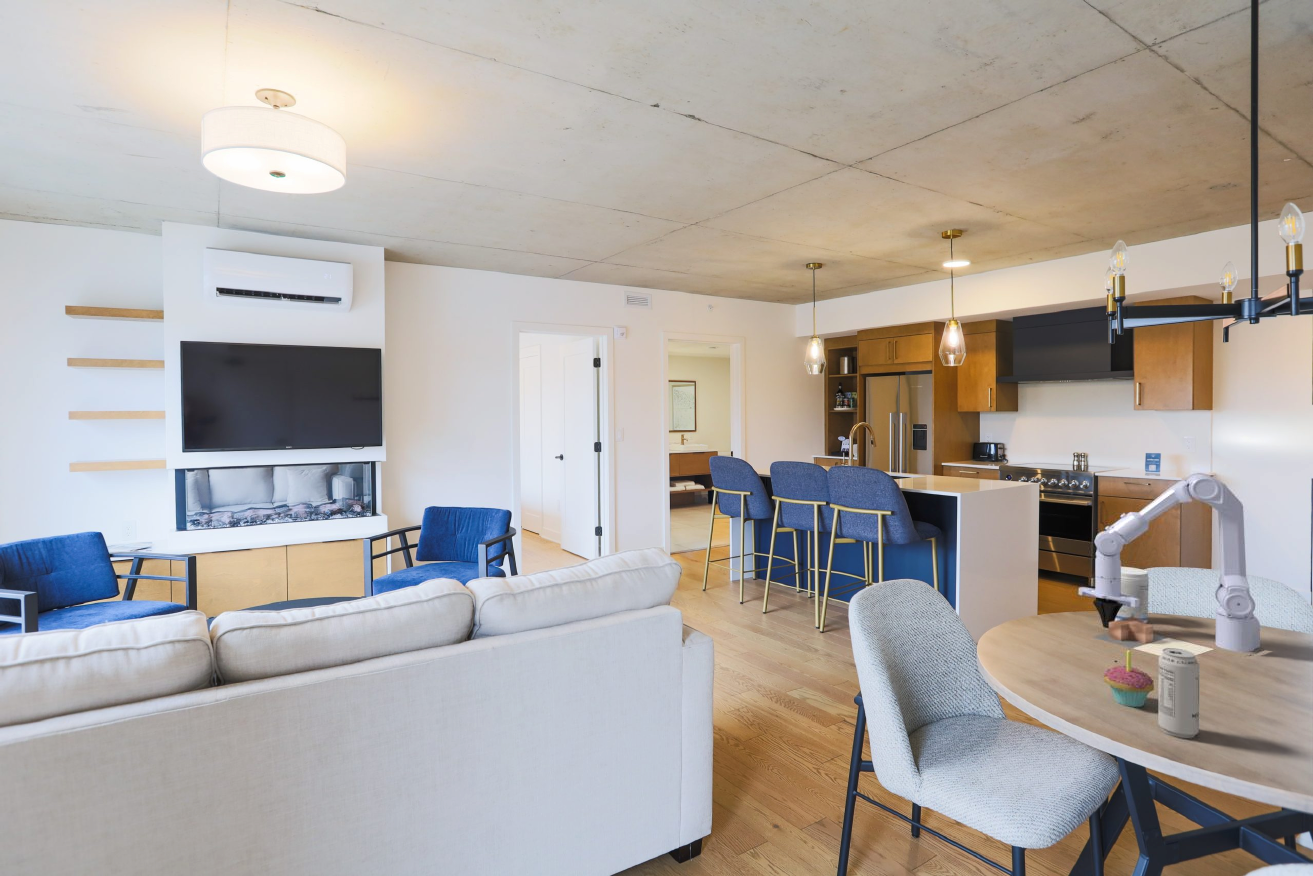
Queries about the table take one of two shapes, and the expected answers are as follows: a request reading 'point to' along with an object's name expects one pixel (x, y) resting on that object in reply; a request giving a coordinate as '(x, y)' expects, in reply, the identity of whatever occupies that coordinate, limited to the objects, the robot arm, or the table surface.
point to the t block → (1131, 630)
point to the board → (1157, 644)
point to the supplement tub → (1134, 593)
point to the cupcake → (1129, 684)
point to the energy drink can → (1178, 693)
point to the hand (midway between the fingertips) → (1107, 627)
